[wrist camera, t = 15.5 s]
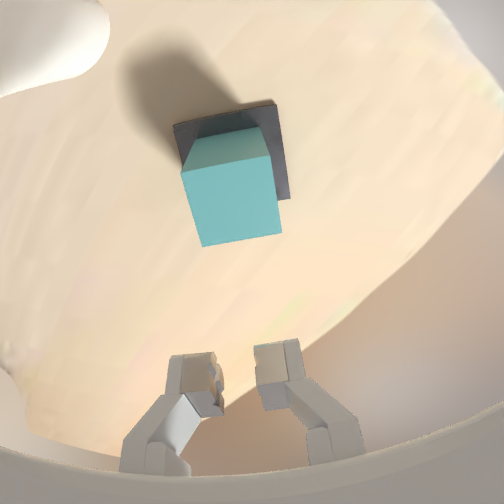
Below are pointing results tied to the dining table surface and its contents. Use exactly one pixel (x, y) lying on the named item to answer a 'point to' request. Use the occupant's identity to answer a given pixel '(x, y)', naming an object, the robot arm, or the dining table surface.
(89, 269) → the dining table surface
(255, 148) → the teal rectangular block
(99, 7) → the cup
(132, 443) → the robot arm
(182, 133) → the post
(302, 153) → the dining table surface
